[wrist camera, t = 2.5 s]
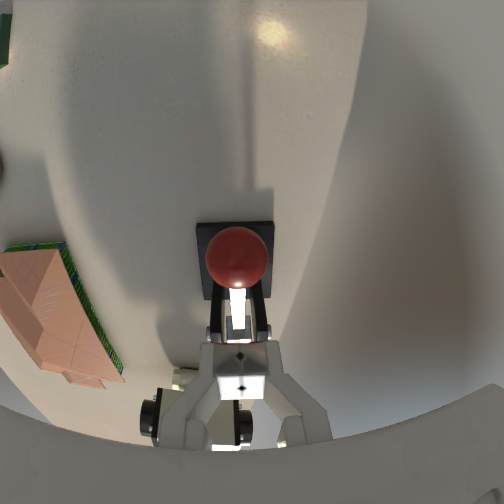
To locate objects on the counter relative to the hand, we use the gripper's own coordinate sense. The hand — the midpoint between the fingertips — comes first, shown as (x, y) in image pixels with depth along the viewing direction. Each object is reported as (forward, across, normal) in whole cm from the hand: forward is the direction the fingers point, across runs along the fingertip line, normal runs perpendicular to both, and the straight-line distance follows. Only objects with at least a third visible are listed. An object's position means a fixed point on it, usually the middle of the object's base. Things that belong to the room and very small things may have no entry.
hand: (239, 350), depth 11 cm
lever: (+10, 0, +5) cm, 11 cm away
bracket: (+23, 0, +11) cm, 25 cm away
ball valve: (+23, +8, +37) cm, 44 cm away
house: (+23, +34, +23) cm, 47 cm away
